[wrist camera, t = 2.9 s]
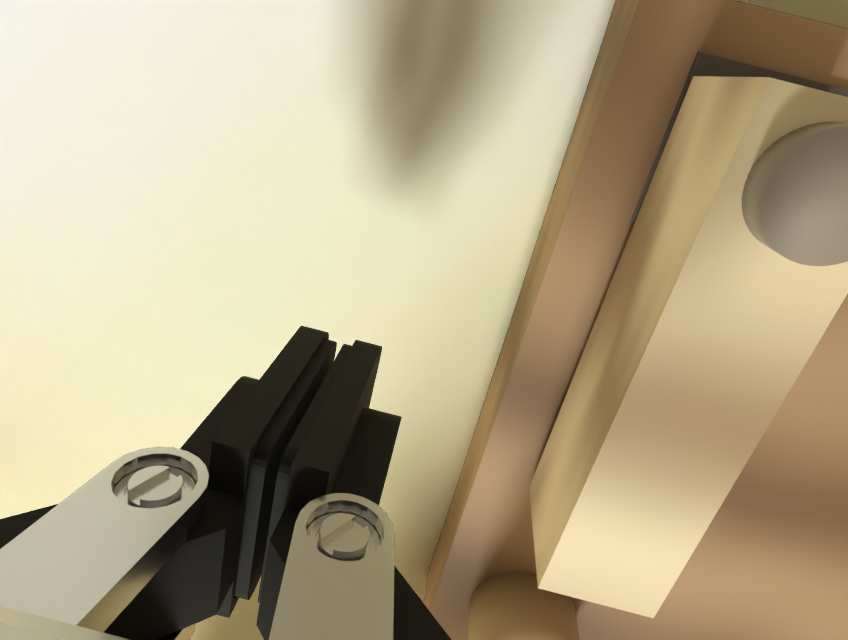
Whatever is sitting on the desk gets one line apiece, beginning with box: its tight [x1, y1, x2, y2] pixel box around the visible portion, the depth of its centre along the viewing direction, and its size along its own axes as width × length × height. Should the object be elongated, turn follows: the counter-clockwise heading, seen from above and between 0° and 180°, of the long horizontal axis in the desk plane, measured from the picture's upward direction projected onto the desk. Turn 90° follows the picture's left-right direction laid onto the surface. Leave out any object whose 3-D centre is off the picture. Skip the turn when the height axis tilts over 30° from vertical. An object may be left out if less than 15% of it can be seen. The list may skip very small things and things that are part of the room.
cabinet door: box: [529, 76, 848, 618], centre depth 10 cm, size 10×2×4 cm, turn 167°
